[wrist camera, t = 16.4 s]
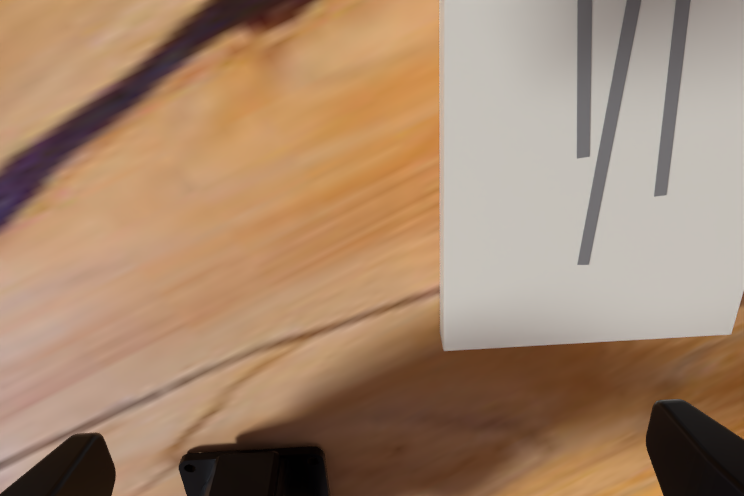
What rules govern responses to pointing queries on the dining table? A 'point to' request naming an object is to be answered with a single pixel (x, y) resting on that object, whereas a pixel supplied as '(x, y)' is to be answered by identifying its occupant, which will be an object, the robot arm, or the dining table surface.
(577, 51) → the board
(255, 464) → the robot arm
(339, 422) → the dining table surface
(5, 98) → the dining table surface
